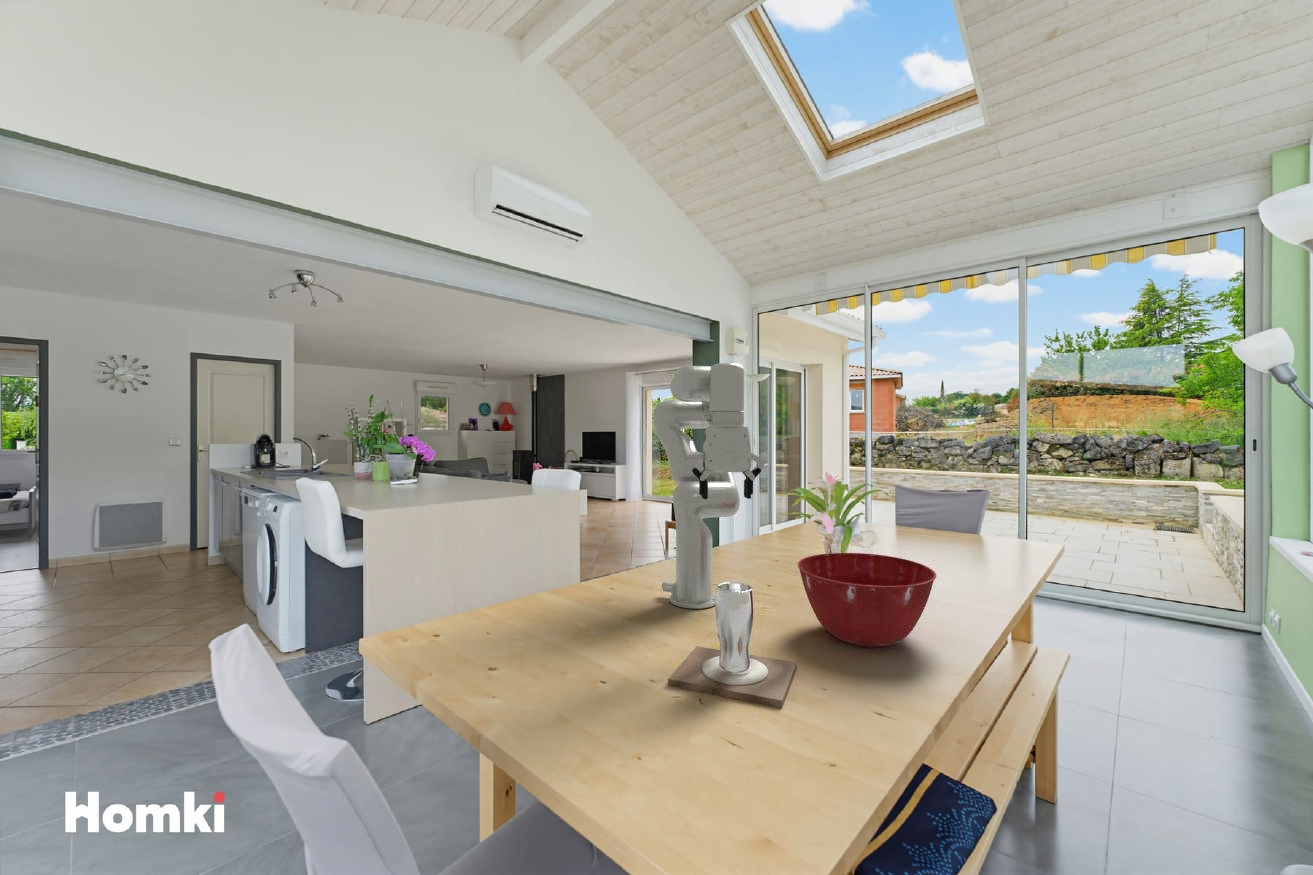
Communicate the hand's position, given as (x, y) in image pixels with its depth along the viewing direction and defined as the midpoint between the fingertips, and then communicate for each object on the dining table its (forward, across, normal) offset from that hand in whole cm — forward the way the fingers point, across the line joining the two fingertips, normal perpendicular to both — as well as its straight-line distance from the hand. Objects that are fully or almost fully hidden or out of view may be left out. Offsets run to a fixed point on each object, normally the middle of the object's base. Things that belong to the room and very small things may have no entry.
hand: (726, 498), depth 121 cm
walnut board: (+30, -3, -20) cm, 36 cm away
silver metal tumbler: (+29, -3, -20) cm, 35 cm away
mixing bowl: (+31, +30, -4) cm, 43 cm away
